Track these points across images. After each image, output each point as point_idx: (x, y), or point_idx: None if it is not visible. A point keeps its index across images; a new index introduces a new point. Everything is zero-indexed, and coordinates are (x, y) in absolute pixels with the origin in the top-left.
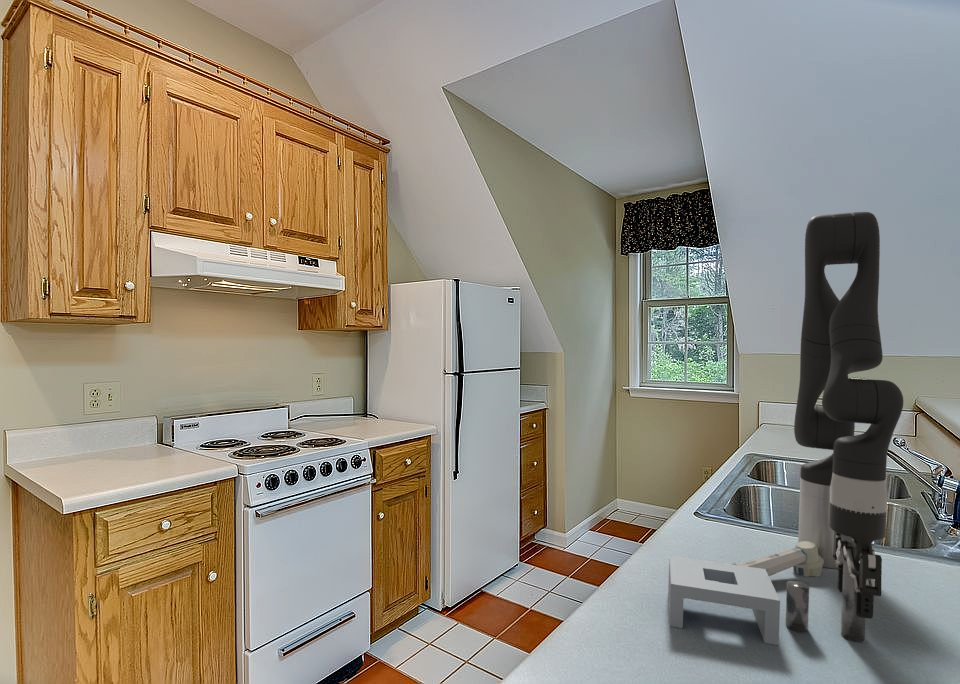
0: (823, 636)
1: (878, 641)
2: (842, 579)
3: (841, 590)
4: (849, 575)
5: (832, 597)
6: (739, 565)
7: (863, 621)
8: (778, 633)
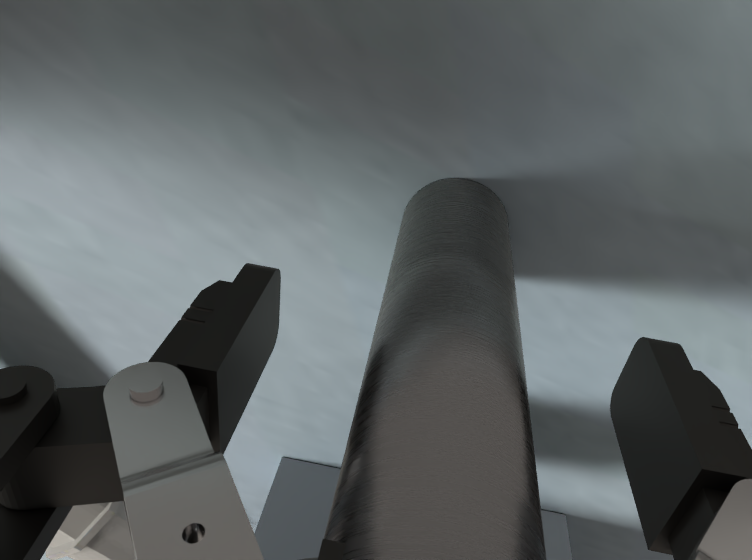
0: None
1: (484, 115)
2: (248, 384)
3: (273, 331)
4: None
5: (7, 121)
6: (68, 553)
7: (509, 261)
8: (570, 556)
